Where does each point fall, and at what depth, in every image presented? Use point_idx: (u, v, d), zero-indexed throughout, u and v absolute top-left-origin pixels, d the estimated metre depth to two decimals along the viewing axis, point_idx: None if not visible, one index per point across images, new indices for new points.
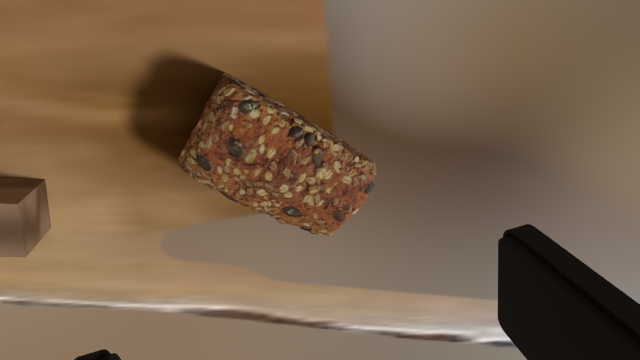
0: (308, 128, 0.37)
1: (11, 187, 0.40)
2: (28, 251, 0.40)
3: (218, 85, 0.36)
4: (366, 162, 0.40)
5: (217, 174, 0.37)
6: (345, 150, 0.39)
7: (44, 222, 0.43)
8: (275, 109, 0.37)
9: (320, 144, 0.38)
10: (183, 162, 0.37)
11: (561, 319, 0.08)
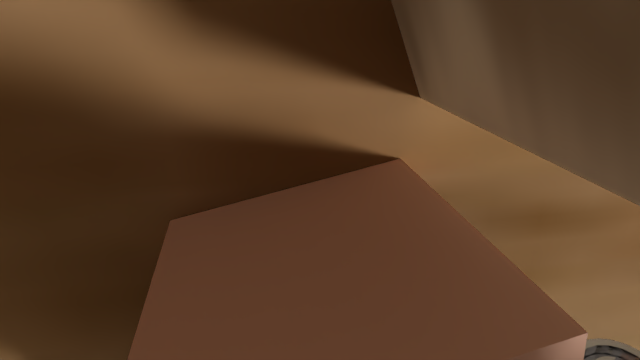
0: None
1: None
2: None
3: None
4: None
5: None
6: None
7: None
8: None
9: None
10: None
11: None
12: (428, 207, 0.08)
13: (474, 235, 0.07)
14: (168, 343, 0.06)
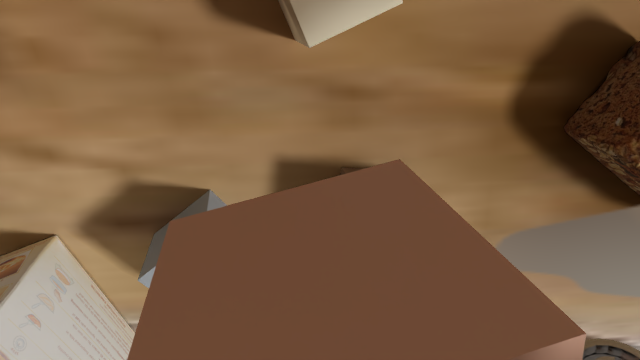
0: None
1: None
2: None
3: None
4: None
5: None
6: None
7: None
8: None
9: None
10: (639, 148, 0.29)
11: None
12: (427, 207, 0.08)
13: (473, 236, 0.07)
14: (167, 344, 0.06)
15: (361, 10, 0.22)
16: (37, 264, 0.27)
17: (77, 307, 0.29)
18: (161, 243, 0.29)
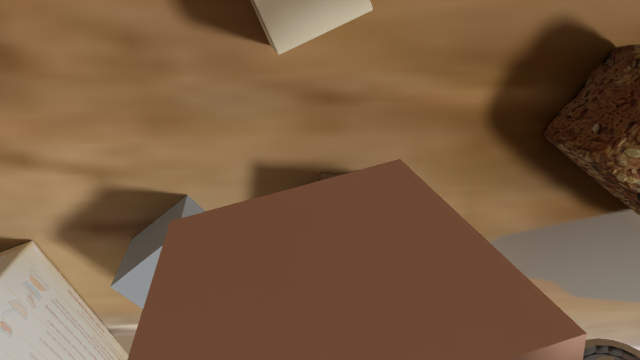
0: None
1: None
2: None
3: None
4: None
5: None
6: None
7: None
8: None
9: None
10: (614, 155, 0.29)
11: None
12: (428, 208, 0.08)
13: (474, 236, 0.07)
14: (168, 343, 0.06)
15: (330, 17, 0.22)
16: (10, 270, 0.27)
17: (52, 313, 0.29)
18: (136, 249, 0.29)
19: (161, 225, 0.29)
